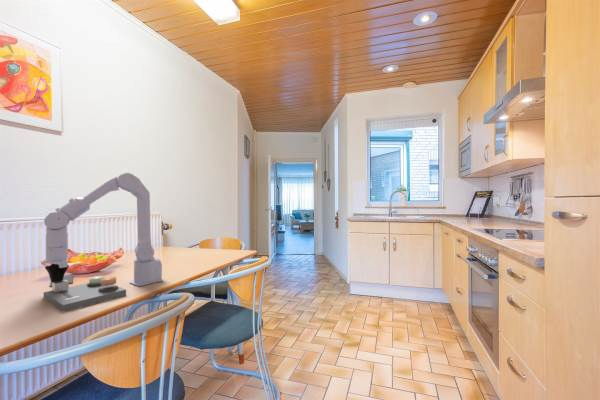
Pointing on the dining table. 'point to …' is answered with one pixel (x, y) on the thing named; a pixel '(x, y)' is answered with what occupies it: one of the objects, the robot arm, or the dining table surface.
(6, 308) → the dining table surface
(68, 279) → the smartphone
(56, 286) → the slider knob
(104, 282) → the terracotta button
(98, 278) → the sage button
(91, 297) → the control panel
